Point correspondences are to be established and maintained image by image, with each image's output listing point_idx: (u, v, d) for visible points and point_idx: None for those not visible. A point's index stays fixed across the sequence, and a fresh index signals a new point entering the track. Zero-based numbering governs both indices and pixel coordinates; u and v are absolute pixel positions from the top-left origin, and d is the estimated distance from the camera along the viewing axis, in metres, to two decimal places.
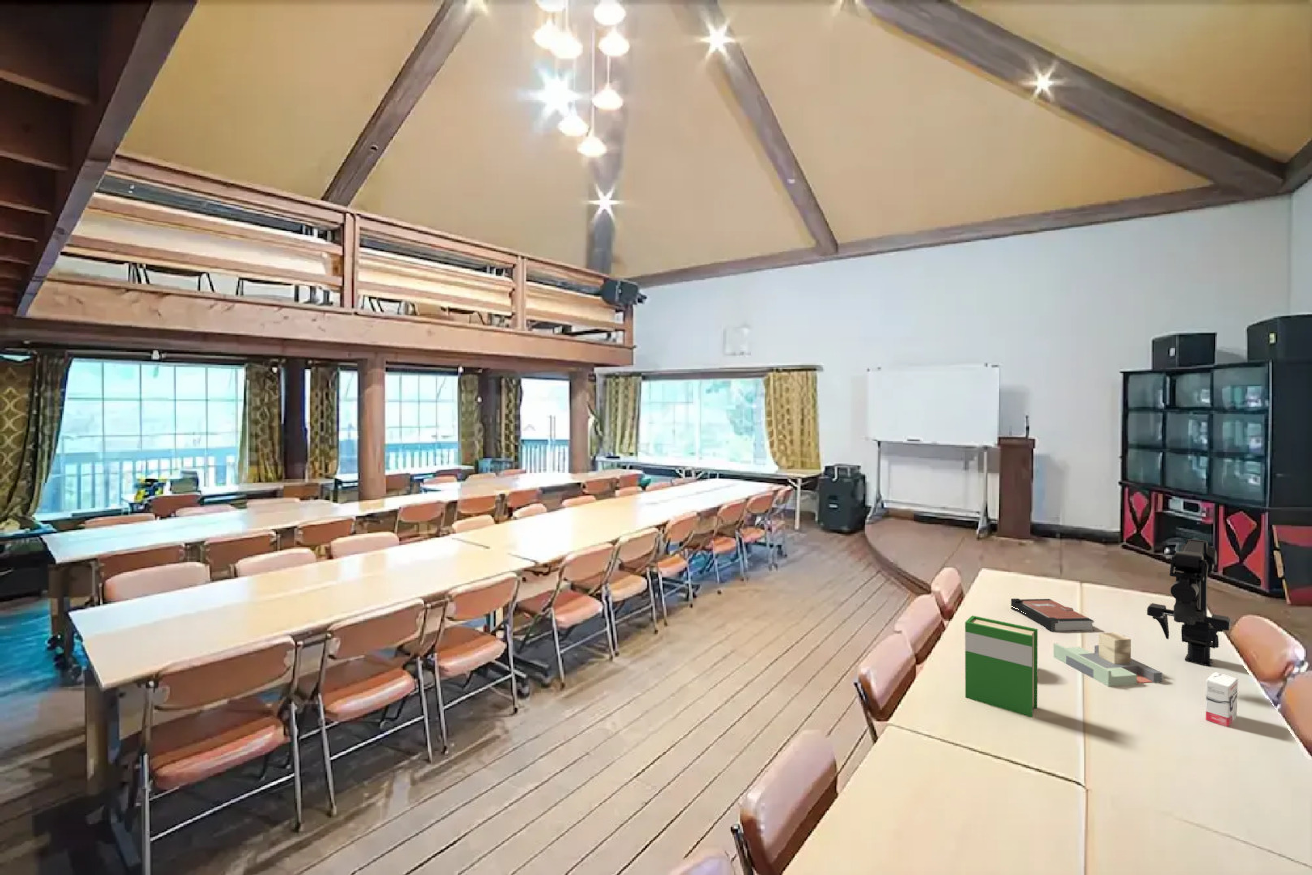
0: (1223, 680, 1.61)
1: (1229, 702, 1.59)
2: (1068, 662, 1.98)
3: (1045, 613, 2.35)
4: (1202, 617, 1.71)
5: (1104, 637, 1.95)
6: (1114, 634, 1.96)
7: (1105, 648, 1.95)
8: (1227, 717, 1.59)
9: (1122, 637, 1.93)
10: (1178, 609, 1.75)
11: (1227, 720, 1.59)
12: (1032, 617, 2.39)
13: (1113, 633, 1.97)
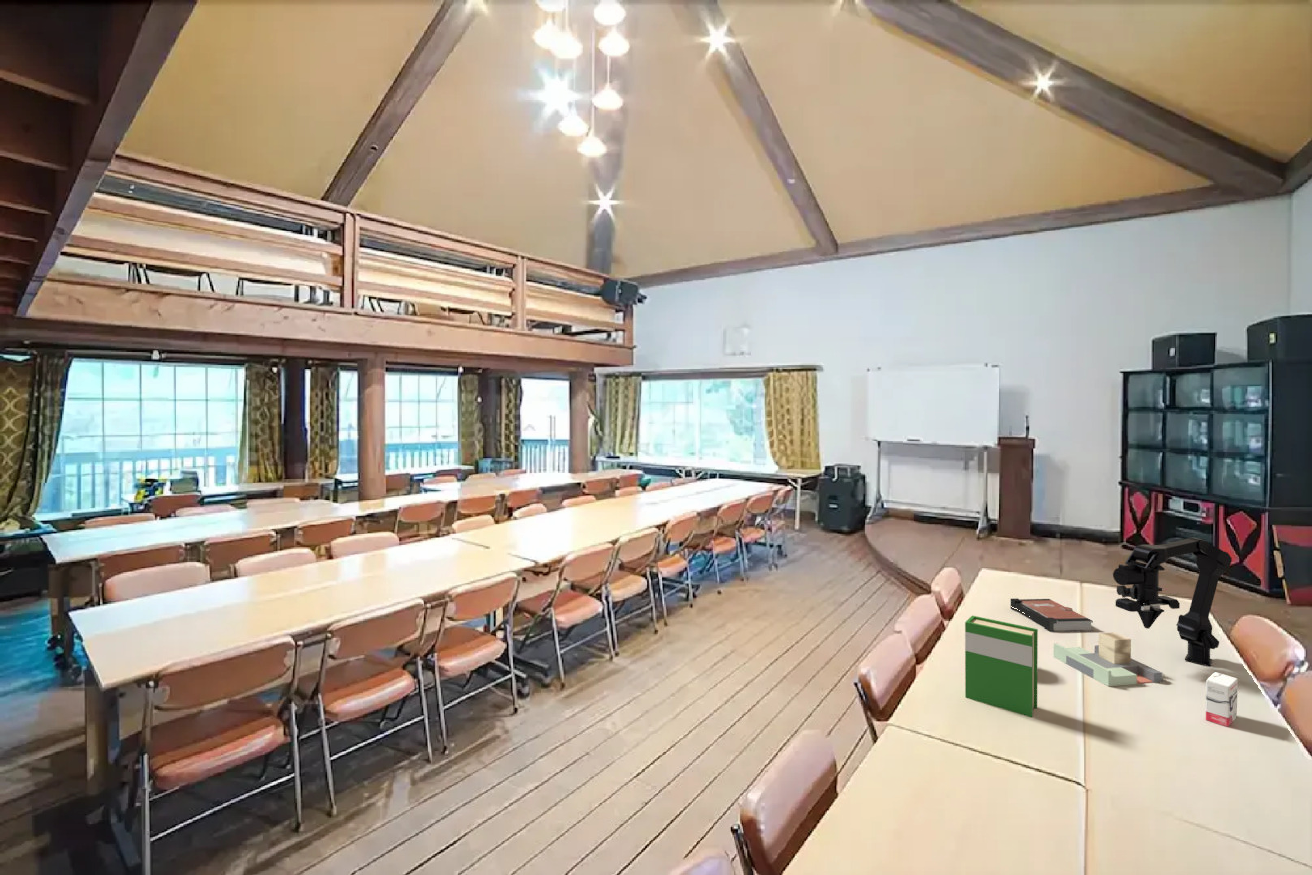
0: (1223, 680, 1.61)
1: (1229, 702, 1.59)
2: (1068, 662, 1.98)
3: (1044, 613, 2.35)
4: None
5: (1104, 637, 1.95)
6: (1114, 634, 1.96)
7: (1105, 648, 1.95)
8: (1227, 717, 1.59)
9: (1122, 637, 1.93)
10: None
11: (1227, 720, 1.59)
12: (1031, 617, 2.39)
13: (1113, 633, 1.97)
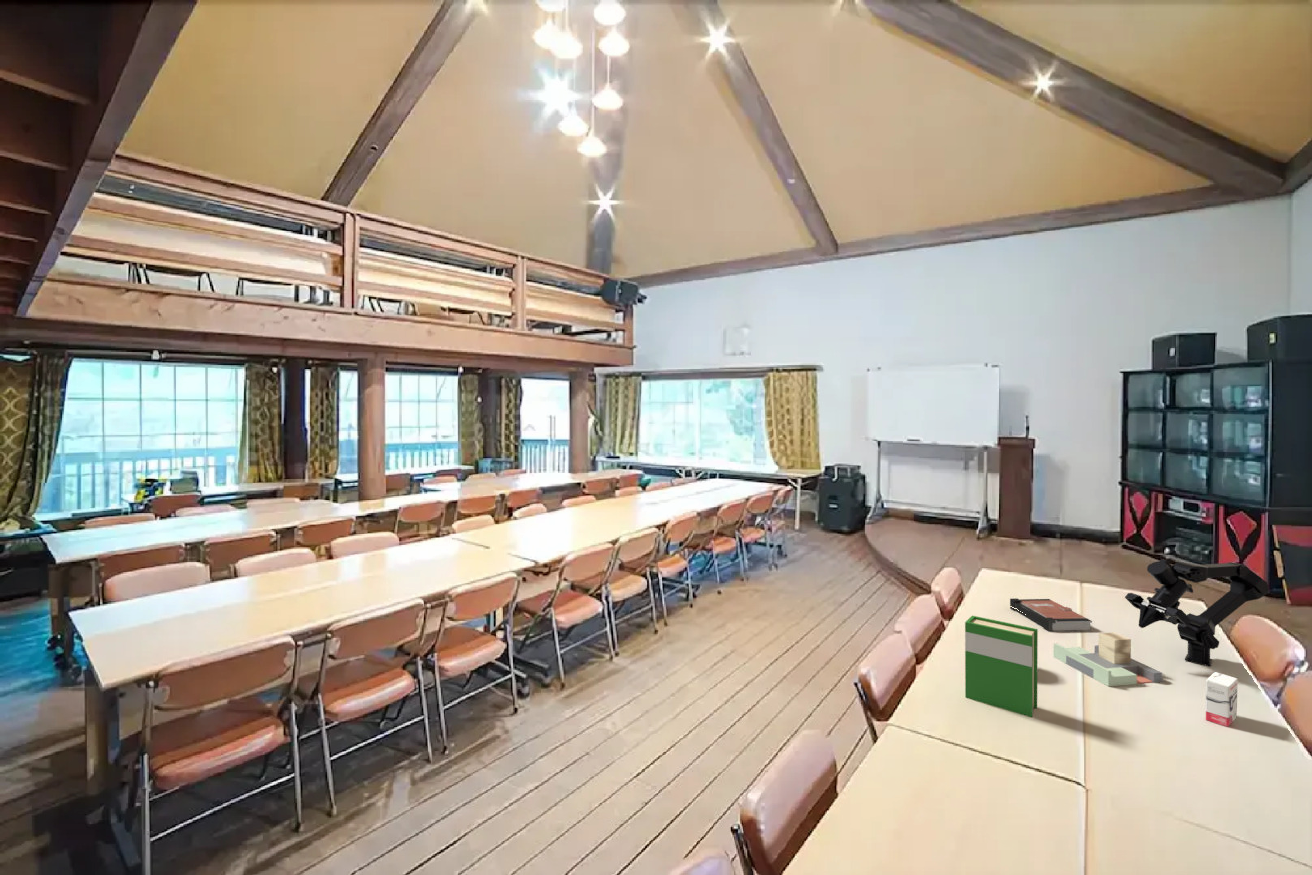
0: (1223, 680, 1.61)
1: (1229, 702, 1.59)
2: (1068, 662, 1.98)
3: (1043, 613, 2.35)
4: None
5: (1104, 637, 1.95)
6: (1114, 634, 1.96)
7: (1105, 648, 1.95)
8: (1227, 717, 1.59)
9: (1122, 637, 1.93)
10: None
11: (1227, 720, 1.59)
12: (1030, 617, 2.39)
13: (1113, 633, 1.97)
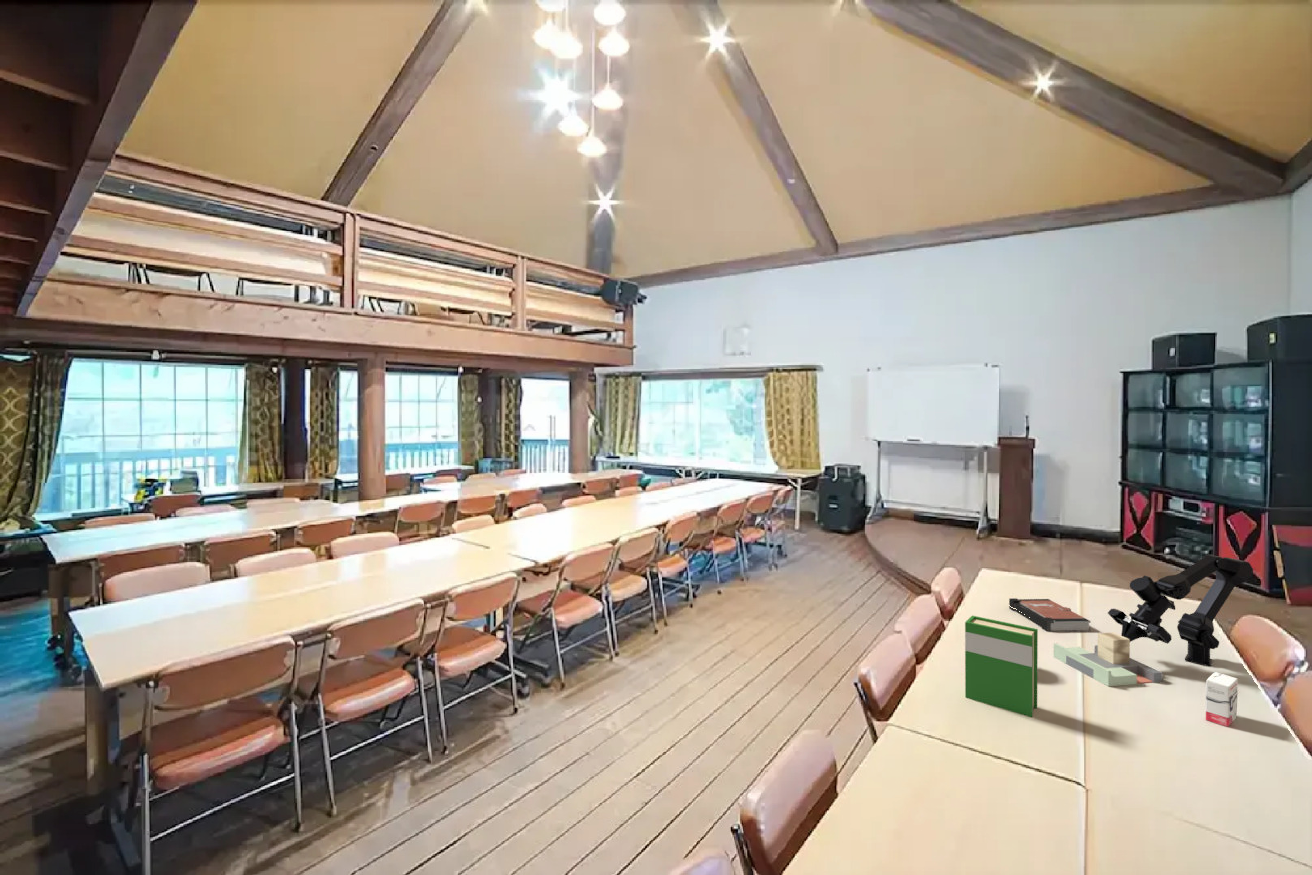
0: (1223, 680, 1.61)
1: (1229, 702, 1.59)
2: (1068, 662, 1.98)
3: (1042, 613, 2.36)
4: None
5: (1103, 637, 1.95)
6: (1113, 634, 1.96)
7: (1104, 648, 1.95)
8: (1227, 717, 1.59)
9: (1121, 637, 1.93)
10: None
11: (1227, 720, 1.59)
12: None
13: (1112, 633, 1.97)
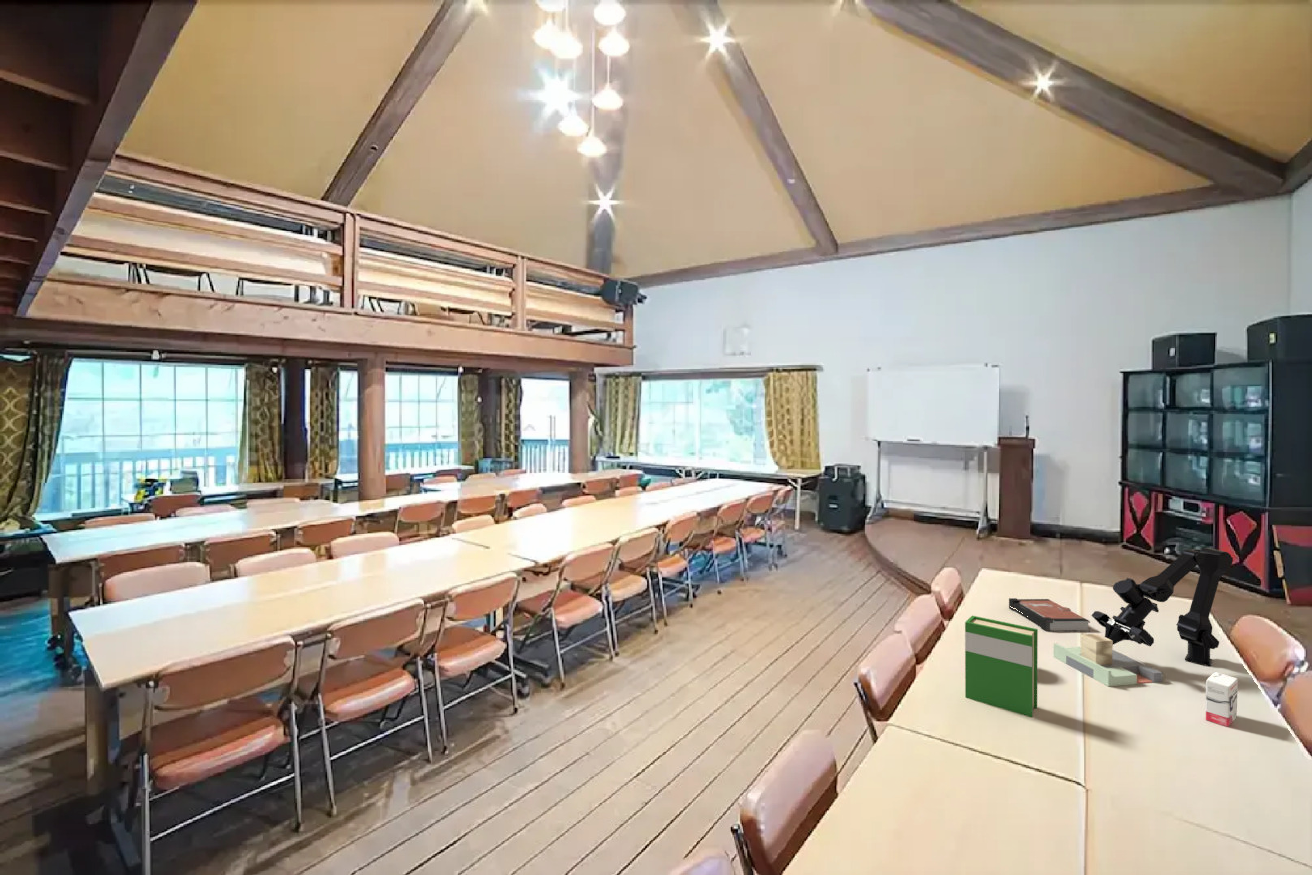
0: (1223, 680, 1.61)
1: (1229, 702, 1.59)
2: (1068, 662, 1.98)
3: (1041, 613, 2.36)
4: None
5: (1086, 638, 1.94)
6: (1096, 635, 1.95)
7: (1087, 649, 1.94)
8: (1227, 717, 1.59)
9: (1104, 638, 1.93)
10: None
11: (1227, 720, 1.59)
12: (1029, 617, 2.39)
13: (1095, 634, 1.96)
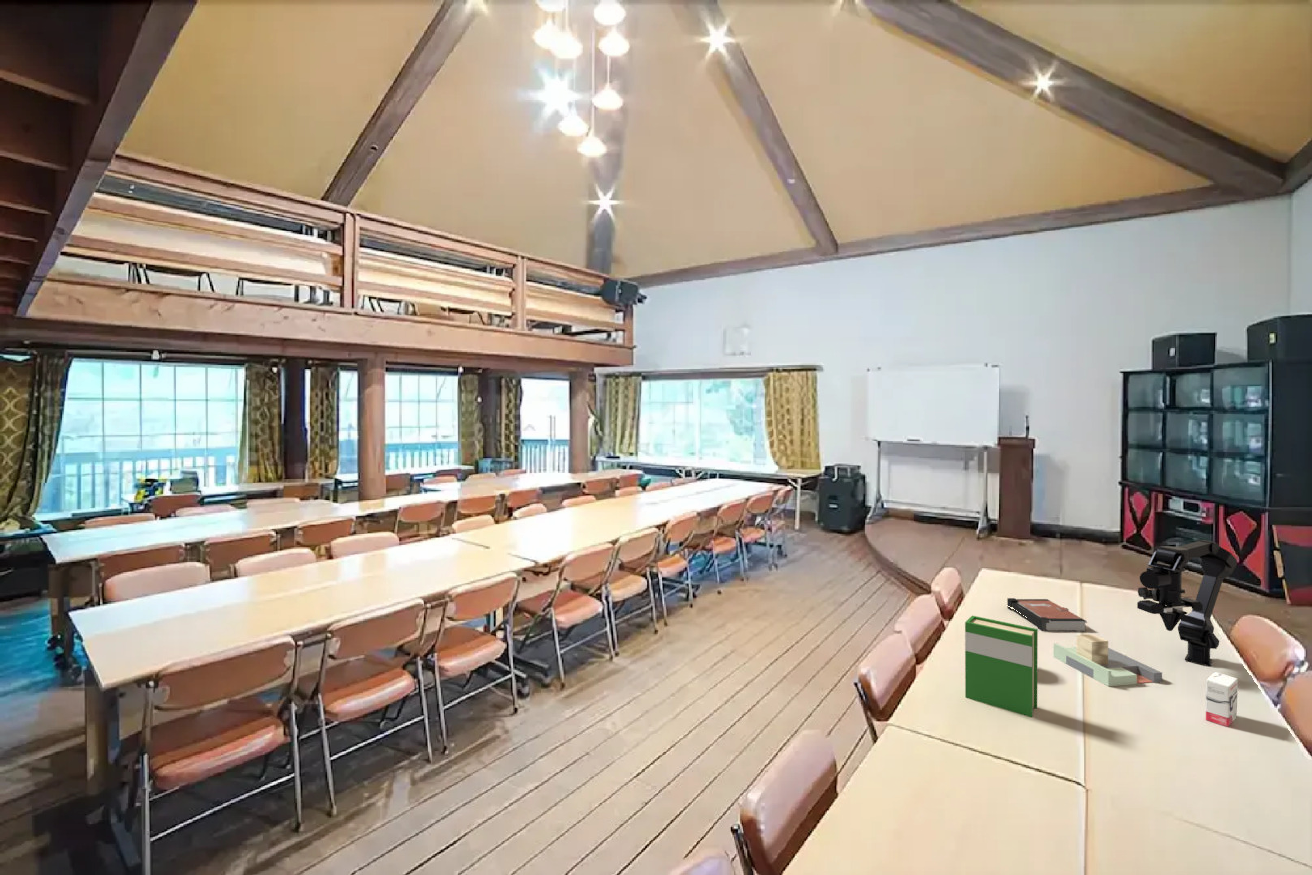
0: (1223, 680, 1.61)
1: (1229, 702, 1.59)
2: (1068, 662, 1.98)
3: (1038, 613, 2.36)
4: None
5: (1082, 639, 1.94)
6: (1092, 636, 1.95)
7: (1082, 649, 1.94)
8: (1227, 717, 1.59)
9: (1099, 639, 1.93)
10: None
11: (1227, 720, 1.59)
12: None
13: (1091, 635, 1.96)
